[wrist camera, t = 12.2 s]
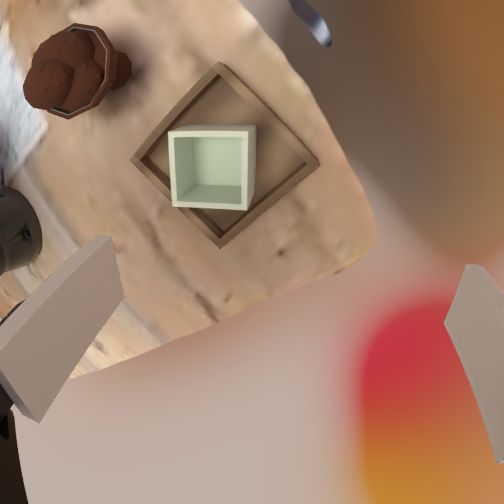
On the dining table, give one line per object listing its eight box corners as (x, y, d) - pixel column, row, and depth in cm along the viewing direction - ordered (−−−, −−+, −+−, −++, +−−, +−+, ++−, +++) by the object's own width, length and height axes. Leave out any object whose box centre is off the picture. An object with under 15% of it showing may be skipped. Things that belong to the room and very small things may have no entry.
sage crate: (192, 187, 39) (172, 206, 33) (189, 124, 35) (168, 131, 29) (255, 190, 38) (247, 210, 32) (257, 124, 35) (248, 131, 28)
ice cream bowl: (159, 92, 35) (89, 99, 21) (90, 119, 37) (12, 141, 24) (142, 20, 30) (70, -2, 17) (75, 53, 32) (-4, 54, 19)
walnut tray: (140, 155, 39) (129, 160, 36) (224, 63, 32) (218, 61, 30) (225, 238, 43) (220, 248, 40) (318, 160, 36) (319, 165, 34)
